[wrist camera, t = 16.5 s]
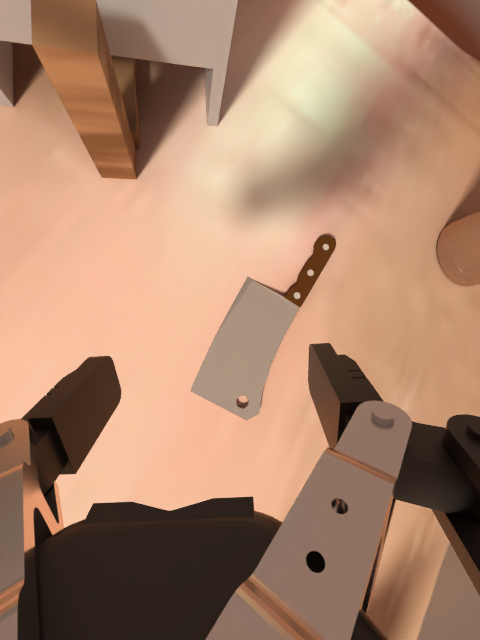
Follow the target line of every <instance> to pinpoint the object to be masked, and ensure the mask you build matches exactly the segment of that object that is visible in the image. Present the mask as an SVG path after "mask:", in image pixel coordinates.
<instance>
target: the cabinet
mask: <svg viewBox="0 0 480 640" xmlns="http://www.w3.org/2000/svg"><path fill="white" fill-rule="evenodd" d="M96 1H97V5H98V9H99V12H100V16H101V20H102V24H103V28H104V31H105V35H106V39H107V43H108V47H109V50H110V54H111V55H113V56H120V57H127V58H135V59H142V60H150V61H157V62H165V63H172V64H180V65H187V66H194V67H202V68H204V72H205V92H206V112H207V125H211V126H218V120H219V114H220V107H221V101H222V95H223V89H224V83H225V77H226V70H227V64H228V58H229V52H230V46H231V40H232V33H233V27H234V21H235V15H236V9H237V3H238V0H96ZM12 42H16V43H23V44H31V45H32V30H31V0H0V106H9V107H14V93H13V48H12Z"/></svg>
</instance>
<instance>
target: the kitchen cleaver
mask: <svg viewBox="0 0 480 640" xmlns="http://www.w3.org/2000/svg"><path fill="white" fill-rule="evenodd" d="M335 246H336V242H335V239H333V238H332V237H330V236H323V237H320V238H318V239H317V241H316V242H315V244H314V250H313V255H312V256H311V258H310V259H309V260H308V261H307V262H306V263H305V265H304V266H303V268H302V270H301V272H300V273H299V275H298V279H297V282H296V283H295V285H294V286H293V287H291V288H290V289H288V291H287V292H286V294H285V296H281V295H279V294H278V293H276V292H274V291H272V290H270V289H268V288H267V287H265V286H263V285H261V284H259V283H257V282H256V281H254V280H252V279H251V278H249V277H247V279H246V281H245V283H244V284H243V286H242V288H241V290H240V292H239V293H238V295H237V297H236V299H235V301H234V302H233V304H232V306H231V308H230V310H229V312H228V313H227V315H226V317H225V319H224V321H223V323H222V324H221V326H220V328H219V330H218V332H217V334H216V335H215V338H214V340H213V342H212V344H211V346H210V348H209V350H208V352H207V355H206V357H205V359H204V361H203V363H202V366H201V368H200V370H199V372H198V375H197V377H196V379H195V381H194V383H193V386H192V389H191V392H193V393H195V394H197V395H199V396H201V397H203V398H205V399H207V400H208V401H210V402H212V403H214V404H216V405H218V406H220V407H222V408H224V409H226V410H228V411H230V412H232V413H234V414H235V415H237V416H239V417H241V418H243V419H245V420H248V419H250V418H252V417H254V416H256V415H258V414H259V411H260V405H261V398H262V391H263V388H264V385H265V382H266V379H267V376H268V373H269V369H270V366H271V364H272V361H273V359H274V357H275V355H276V352H277V350H278V348H279V346H280V344H281V341H282V339H283V338H284V336H285V334H286V332H287V330H288V328H289V327H290V325H291V323H292V321H293V319H294V317H295V316H296V314H297V312H298V310H299V308H300V307H301V306H302V304H303V302H304V301H305V299H306V297H307V296H308V294H309V292H310V290H311V289H312V287H313V285H314V284H315V282H316V280H317V278H318V277H319V275H320V273H321V272H322V270H323V268H324V267H325V265H326V263H327V261H328V260H329V258H330V256H331V255H332V253H333V251H334V249H335ZM242 395H243V396H246V397H247V398H248V403H247V405H246V406H244V407H239V406H238V405H237V403H236V401H237V398H238V397H239V396H242Z"/></svg>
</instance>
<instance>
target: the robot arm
mask: <svg viewBox="0 0 480 640" xmlns="http://www.w3.org/2000/svg"><path fill="white" fill-rule="evenodd" d="M437 255H438V260H439V263H440V266H441V268H442V270H443V271H444V273H445V274H446V275H447V277H448V278H449V279H450V280H452V281H453V282H455V283H457V284H459V285H462V286H473V285H479V284H480V211H478V212H475V213H473V214H470V215H468V216H466V217H463V218H461V219H458V220H456V221H454V222H452V223H450V224H448V225H447V226H446V227H445V228H444V229H443V231H442V233H441V234H440V237H439V240H438V245H437ZM308 382H309V389H310V393H311V396H312V399H313V402H314V405H315V408H316V410H317V413H318V416H319V419H320V422H321V424H322V427H323V430H324V433H325V436H326V438H327V441H328V444H329V447H330V448H327V449H326V450H325V451H324V452H323V454H322V456H321V457H320V459H319V461H318V462H317V464H316V466H315V468H314V469H313V471H312V473H311V475H310V476H309V478H308V480H307V481H306V483H305V485H304V487H303V488H302V490H301V492H300V493H299V495H298V497H297V499H296V500H295V502H294V504H293V506H292V507H291V509H290V511H289V512H288V514H287V516H286V518H285V519H284V521H283V523H282V522H281V521H279V520H277V519H275V518H273V517H271V516H269V515H266V514H264V513H261V512H257V511H254V502H253V497H236V498H213V499H210V500H206V501H203V502H200V503H196V504H193V505H190V506H186V507H183V508H179V509H176V510H172V511H167V510H162V509H158V508H154V507H150V506H146V505H142V504H138V503H134V502H117V503H94V504H93V505H92V507H91V509H90V511H89V513H88V515H87V517H86V519H85V520H82V521H79V522H77V523H74V524H72V525H70V526H68V527H66V528H64V524H63V517H62V510H61V503H60V497H59V490H58V486H57V484H56V481H55V480H56V479H57V477H58V476H59V475H60V474H76V472H77V471H78V469H79V468H80V466H81V464H82V463H83V461H84V459H85V458H86V456H87V455H88V453H89V451H90V450H91V448H92V446H93V445H94V443H95V442H96V440H97V438H98V437H99V435H100V433H101V432H102V430H103V428H104V427H105V425H106V424H107V422H108V420H109V419H110V417H111V415H112V414H113V412H114V411H115V409H116V407H117V406H118V404H119V402H120V399H121V387H120V384H119V380H118V377H117V373H116V370H115V366H114V363H113V360H112V358H111V357H110V356H99V357H89V358H87V359H86V360H85V361H84V362H83V363H82V364H81V365H80V366H79V367H78V368H77V369H76V370H75V371H73V372H72V373H70V374H68V375H67V376H65V377H64V378H62V379H61V380H60V381H59V382H58V383H57V384H56V385H55V386H54V388H52V389H51V390H50V391H49V392H48V393H47V396H44V397H43V398H42V399H41V400H40V401H39V402H38V403H37V404H36V405H35V406H34V407H33V408H32V409H31V410H30V411H29V412H28V413H27V414H26V415H25V416H24V417H23V418H22V419H17V420H10V421H7V422H4V423H1V424H0V640H388V639H387V638H386V637H385V636H384V634H383V633H382V632H381V631H380V630H379V629H378V627H377V626H376V625H375V624H374V623H373V621H372V620H371V619H370V618H369V617H368V616H367V612H368V608H369V605H370V601H371V597H372V593H373V589H374V585H375V581H376V577H377V572H378V568H379V564H380V560H381V556H382V552H383V548H384V544H385V541H386V537H387V533H388V529H389V525H390V522H391V518H392V514H393V510H394V506H395V503H396V500H400V501H404V502H408V503H412V504H415V505H419V506H423V507H427V508H431V509H432V511H433V512H434V514H435V516H436V518H437V520H438V521H439V523H440V525H441V527H442V529H443V530H444V532H445V534H446V536H447V538H448V539H449V541H450V543H451V545H452V546H453V548H454V550H455V552H456V554H457V556H458V557H459V559H460V561H461V563H462V565H463V567H464V568H465V570H466V572H467V574H468V576H469V577H470V579H471V581H472V583H473V584H474V586H475V588H476V590H477V592H478V593H479V595H480V417H477V416H473V415H455V416H453V417H451V418H450V419H449V420H448V422H447V425H446V428H443V427H437V426H431V425H425V424H420V423H416V422H412V421H411V419H410V417H409V416H408V415H407V414H406V413H405V412H404V411H403V410H402V409H400V408H399V407H397V406H395V405H393V404H390V403H387V402H384V401H383V400H382V398H381V397H380V396H379V394H378V393H377V391H376V390H375V389H374V387H373V386H372V384H371V383H370V382H369V380H368V379H367V378H366V376H365V375H364V373H363V372H362V371H361V369H360V367H359V366H358V365H357V363H356V362H355V361H354V360H352V359H351V358H349V357H348V356H346V355H337V354H336V352H335V350H334V349H333V347H332V346H331V344H330V343H321V344H310V346H309V370H308Z"/></svg>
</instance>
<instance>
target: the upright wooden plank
mask: <svg viewBox="0 0 480 640" xmlns="http://www.w3.org/2000/svg"><path fill="white" fill-rule="evenodd" d="M31 30H32V46H33V48H34V50H35V51H36V53H37V55H38V57H39V59H40V61H41V63H42V65H43V67H44V69H45V70H46V72H47V74H48V76H49V78H50V80H51V82H52V84H53V86H54V88H55V89H56V91H57V93H58V95H59V97H60V99H61V101H62V103H63V105H64V106H65V108H66V110H67V112H68V114H69V116H70V118H71V120H72V122H73V124H74V125H75V127H76V129H77V131H78V133H79V135H80V137H81V139H82V141H83V143H84V144H85V146H86V148H87V150H88V152H89V154H90V156H91V158H92V160H93V162H94V163H95V165H96V167H97V169H98V171H99V173H100V175H101V177H102V178H120V179H136V154H135V148H140V134H139V110H138V85H137V60H136V59H135V58H127V57H120V56H113V55H111V54H110V50H109V47H108V43H107V39H106V35H105V31H104V28H103V24H102V20H101V16H100V12H99V9H98V5H97V1H96V0H31Z"/></svg>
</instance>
